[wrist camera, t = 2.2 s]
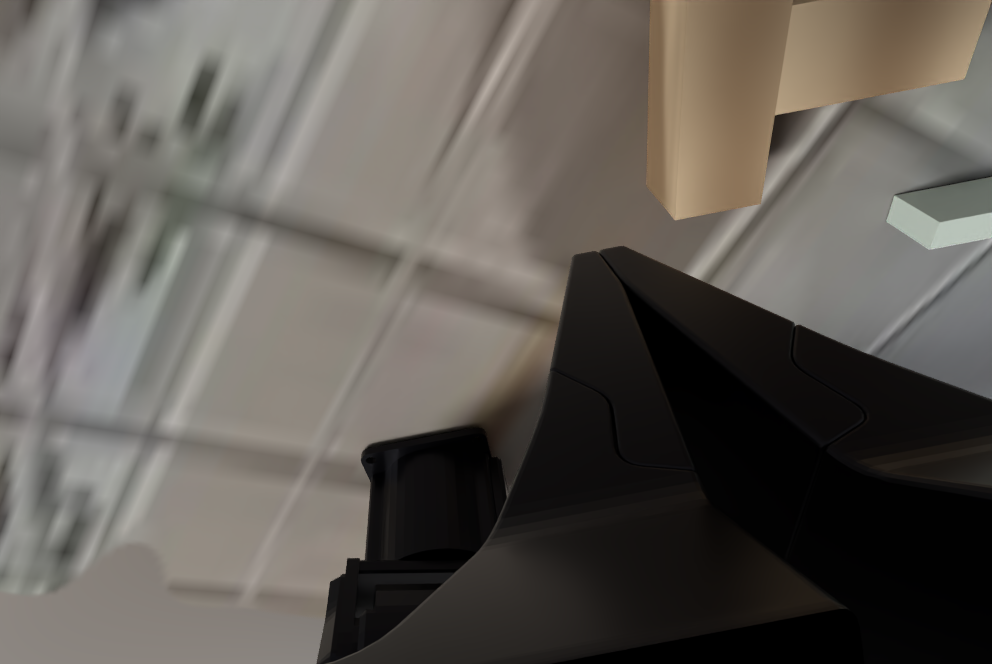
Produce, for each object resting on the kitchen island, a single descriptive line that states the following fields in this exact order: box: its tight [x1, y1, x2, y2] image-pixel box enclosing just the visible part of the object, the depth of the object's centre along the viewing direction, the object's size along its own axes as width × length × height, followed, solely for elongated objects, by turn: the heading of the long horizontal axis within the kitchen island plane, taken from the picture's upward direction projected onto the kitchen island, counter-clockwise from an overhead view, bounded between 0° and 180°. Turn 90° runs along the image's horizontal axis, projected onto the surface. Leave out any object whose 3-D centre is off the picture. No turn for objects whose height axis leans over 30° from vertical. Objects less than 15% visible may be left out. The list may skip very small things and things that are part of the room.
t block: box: [646, 0, 992, 220], centre depth 17 cm, size 9×9×3 cm
